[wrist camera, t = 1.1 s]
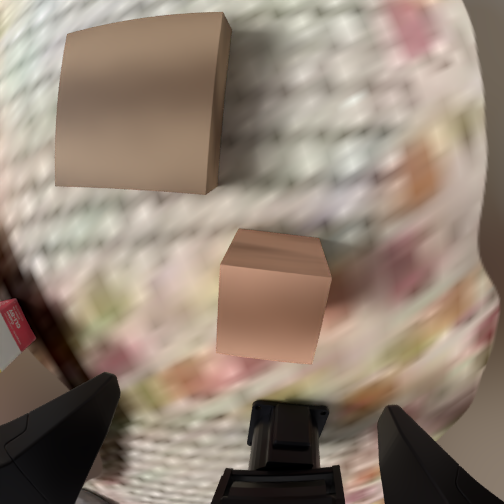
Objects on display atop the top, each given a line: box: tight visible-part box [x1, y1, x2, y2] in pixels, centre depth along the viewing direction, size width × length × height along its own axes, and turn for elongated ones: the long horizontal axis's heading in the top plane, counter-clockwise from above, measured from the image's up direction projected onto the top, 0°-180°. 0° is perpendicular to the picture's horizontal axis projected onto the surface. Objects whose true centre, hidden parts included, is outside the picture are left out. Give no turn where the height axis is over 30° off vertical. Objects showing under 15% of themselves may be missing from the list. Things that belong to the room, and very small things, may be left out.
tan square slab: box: [55, 12, 232, 195], centre depth 16 cm, size 10×10×3 cm
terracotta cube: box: [216, 229, 332, 364], centre depth 18 cm, size 5×5×6 cm
